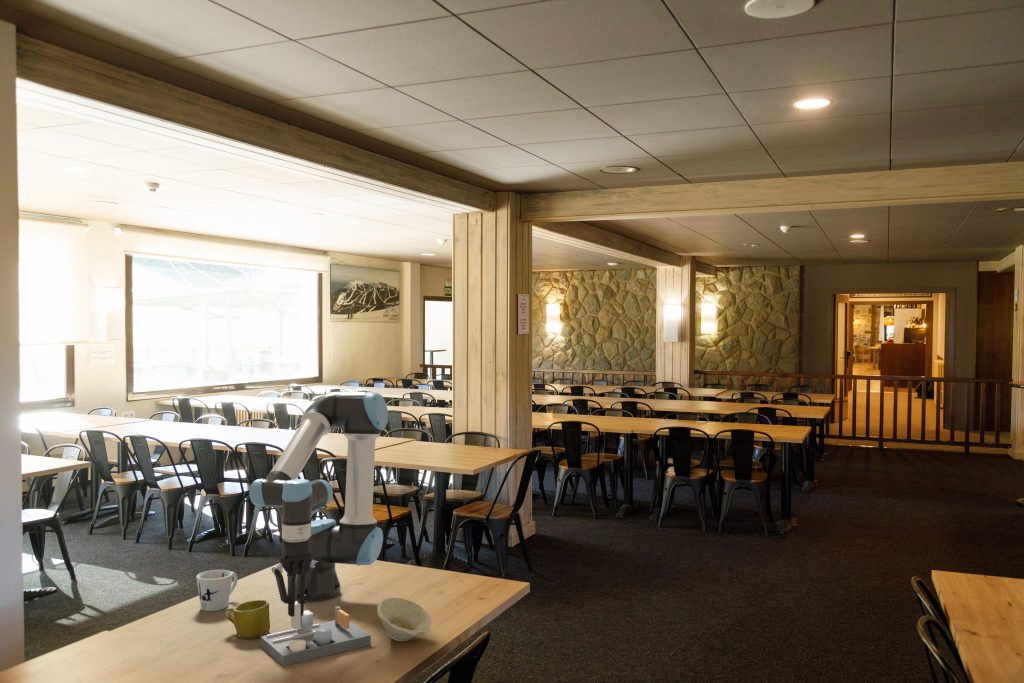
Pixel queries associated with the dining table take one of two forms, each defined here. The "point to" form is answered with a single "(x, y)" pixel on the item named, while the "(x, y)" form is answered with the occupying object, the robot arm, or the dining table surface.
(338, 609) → the paddle
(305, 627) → the slider knob
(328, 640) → the button bluegrey
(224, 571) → the mug
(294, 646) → the button ivory
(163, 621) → the dining table surface
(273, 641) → the panel
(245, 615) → the mug
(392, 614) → the bowl
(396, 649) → the dining table surface
